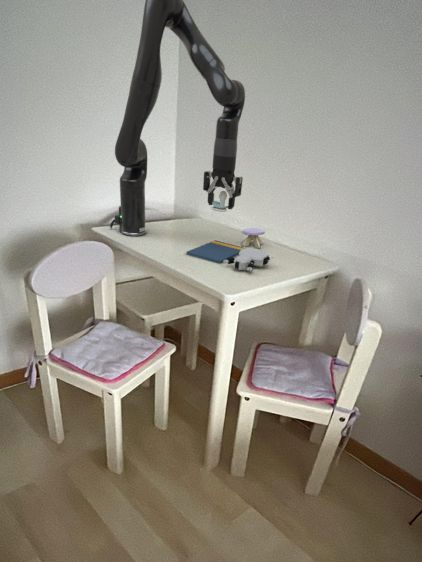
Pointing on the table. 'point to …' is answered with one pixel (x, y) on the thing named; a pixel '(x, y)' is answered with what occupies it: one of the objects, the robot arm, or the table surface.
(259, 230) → the toy table
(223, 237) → the table surface
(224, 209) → the pacifier
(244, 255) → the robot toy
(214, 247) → the blue book
